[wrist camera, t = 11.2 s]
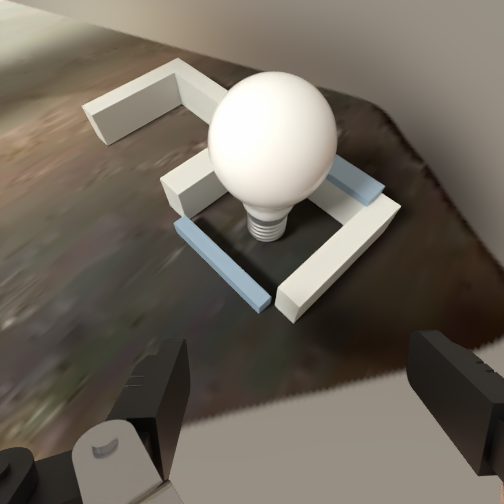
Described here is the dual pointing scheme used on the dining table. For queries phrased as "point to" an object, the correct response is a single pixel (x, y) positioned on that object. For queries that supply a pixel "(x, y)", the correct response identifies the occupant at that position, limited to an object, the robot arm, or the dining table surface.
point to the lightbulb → (272, 146)
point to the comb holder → (210, 189)
